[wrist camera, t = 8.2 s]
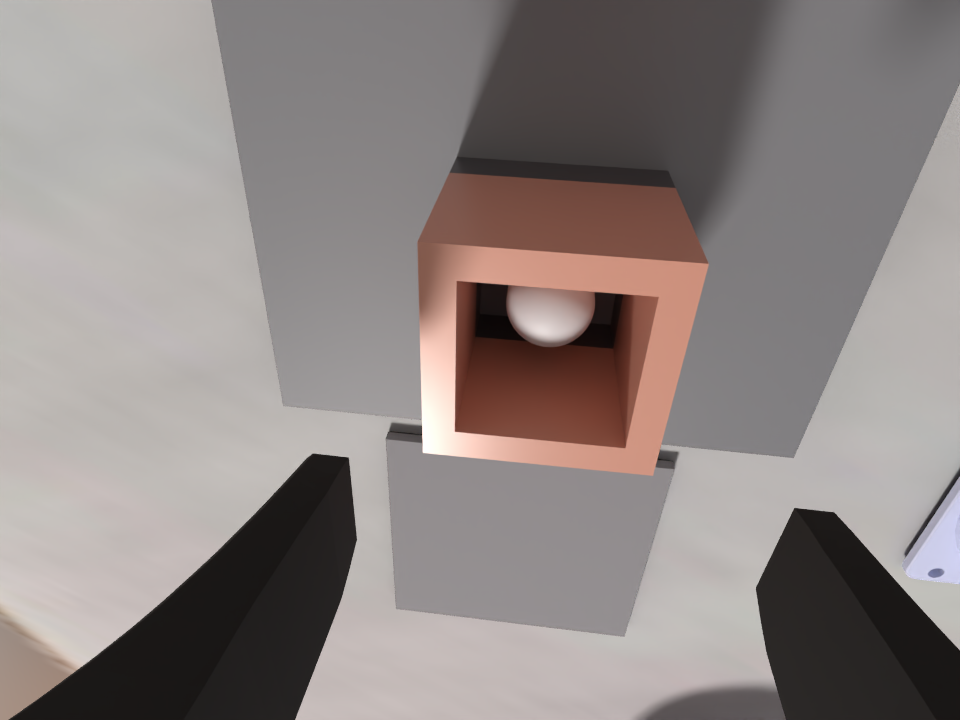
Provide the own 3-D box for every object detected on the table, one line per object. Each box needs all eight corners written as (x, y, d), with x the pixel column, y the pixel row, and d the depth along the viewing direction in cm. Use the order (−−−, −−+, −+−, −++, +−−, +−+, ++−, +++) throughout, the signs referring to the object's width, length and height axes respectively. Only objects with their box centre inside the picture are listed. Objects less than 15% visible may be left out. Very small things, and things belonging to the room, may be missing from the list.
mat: (672, 461, 22) (674, 469, 21) (623, 628, 27) (624, 636, 27) (388, 431, 22) (385, 439, 22) (398, 600, 28) (396, 608, 28)
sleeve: (667, 170, 15) (708, 263, 11) (631, 348, 18) (652, 475, 13) (457, 156, 15) (417, 241, 11) (454, 333, 18) (422, 453, 14)
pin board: (1329, -916, 8) (2168, -1838, 4) (779, 425, 20) (834, 551, 16) (107, -870, 9) (-281, -1550, 5) (299, 378, 21) (237, 484, 17)
